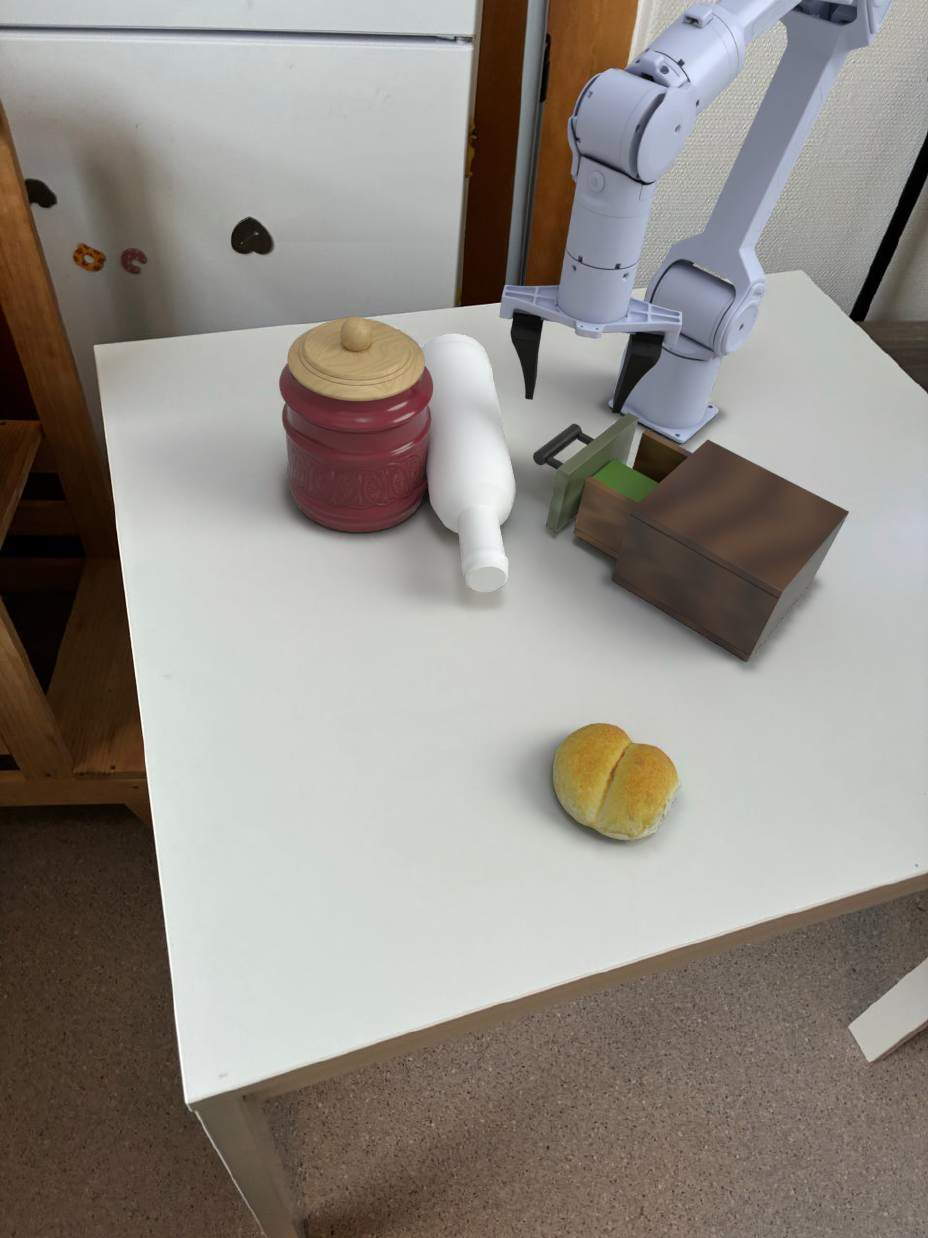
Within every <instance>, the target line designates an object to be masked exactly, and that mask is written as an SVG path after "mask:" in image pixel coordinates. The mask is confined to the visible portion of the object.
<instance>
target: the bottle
mask: <svg viewBox="0 0 928 1238" xmlns="http://www.w3.org/2000/svg"><path fill="white" fill-rule="evenodd" d="M421 349H422V351H423V354H424V357H425V366H426V367H427V369H428V370H429V372H430V374H431V376H432V379H433V384H434V389H433V395H432V398H431V400H430V402H429V404H428V405H429V408H430V411H431V416H432V422H431V427H430V430H429V436H428V453H427V462H426V471H427V480H428V483H427V488H428V495H429V501H430V506H431V507H432V509H433V511H434V512H435V514H436V515H437V517H438V518H439V520H440V521H441V522H442V524H443V525H444V527H445V528H447V529H449V530H450V531H452V532H453V533H455V534H458V535H457V536H458V540H459V541H458V542H459V548H460V554H461V560H462V562H461V565H460V566H461V567H460V568H461V573H462V575H463V577H464V583H465V585H466V586H467V587H468V588H469V589H471V590H473V591H475V592H479V593H490V592H494V591H497V590H498V589H500V588H502V587H503V586H504V585H505V584H506V583H507V582H508V579H509V568H510V567H509V559H508V556H506V553H505V547H504V542H503V537H502V531H501V526H502V525H503V524H504V523H505V522H506V521H507V520H508V518H509V516H510V514H511V511H512V509H513V506H514V503H515V499H516V494H517V492H516V489H517V488H516V480H515V474H514V470H513V465H512V460H511V457H510V456H511V455H510V451H509V447H508V442H507V438H506V433H505V429H504V423H503V420H502V414H501V410H500V405H499V399H498V395H497V391H496V387H495V382H494V376H493V375H494V374H493V367H492V364H491V362H490V360H489V359H490V358H489V356H488V354H487V351H486V350H485V348H484V346H483V345H482V344H481V343H480V342H479V341H477V340H476V339H475V338H473V337H471V336H468V335H465V334H463V333H446V334H443V335H438V336H435V337H433V338H432V339H431V340H429V341H428V342H426V343H425V344H424V345H423V346H422V347H421Z"/></svg>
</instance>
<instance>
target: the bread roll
mask: <svg viewBox="0 0 928 1238" xmlns="http://www.w3.org/2000/svg"><path fill="white" fill-rule="evenodd" d="M552 783H553V784H552V785H553V788H554V791H555V794H556V797H557V799H558V802H559V803H560V804H561V806H562V808H563V809H564V811H565V812H566V813H568V815H570V816H571V817H572V818H573V819H574V820H575V821H576V822H577V823H579V824H582V825H583V826H586V827H589V828H592V829H594V830H595V831H597V832H598V833H600V834H602V835H603V836H604V837H609V838H611V839H615V840H620V841H632V842H634V841H638V840H642V839H644V838H647V837H649V836H651V835H654V834H655V833H656V832H657V830H658V829H659V828H660V826H661V825H662V823H663V822H664V820H665V819H666V818H667V814H668V812H669V811H670V810H671V808H672V807H673V806H672V805H673V801H674V800H675V799H676V798H677V796H678V792H679V791H680V789H681V786H682V784H681V782H680V780H679V776H678V771H677V768H676V766H675V764H674V762H673V761H672V760H671V758H670V757H669V755H668V754H666V752H665V751H664V750H662V749H661V748H659V747H658V746H655V745H652V744H648V743H637V742H633V740H631V738H630V736H629V735H628V734H627V732H626V731H625V730H624V729H622V728H621V727H618V725H614V724H610V723H605V722H604V723H603V722H602V723H601V722H596V723H589V724H587V725H585V726H582V727H579V728H578V729H576V730H575V731H572V732H571V733H569V734H568V735H567V736H565V738H564V739H563V740H562V741H561V743H560V744H559V745H558V747H557V749H556V750H555V753H554V757H553V763H552Z"/></svg>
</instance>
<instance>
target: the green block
mask: <svg viewBox="0 0 928 1238" xmlns="http://www.w3.org/2000/svg"><path fill="white" fill-rule="evenodd" d="M632 468H633V467H630V466H628V465H627V464H626V465H624V464H623V463H621V462H619V461H617V460H615V459H613V460H612V461H611V462H609V463H608V464H607V465H606V466H605V467H603V468H602V469H601V470H600V471H599V472H597V473H596V474H595V475H594V476H593V478H595V479H596V480H598V481H600V482H602V483H604V484H605V485H607V486H609V487H611V488H612V489H614V490H616V491H618V492H620V493H621V494H623V495H625V496H627V497H629V498H630V499H632V500H634V501H636V502H637V503H638V502H639V501H640V500H641V499H642V498H643V497H645V496H646V495H647V494H648V493H649V492H650V491H651V490H652V489H653V488H654V487H656V486H657V485H658V484H659V483H657V482H656V481H654V480H652V479H650V478H648V477H646V476H645V475H643V474H641V473H639V472H637V471H635V470H634V469H632Z"/></svg>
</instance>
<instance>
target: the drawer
mask: <svg viewBox="0 0 928 1238" xmlns="http://www.w3.org/2000/svg"><path fill="white" fill-rule="evenodd" d="M638 419H639V418H638V417H636V416H634V415H632V414H631V413H627V414H626V415H625V414H623V416H622V417H620V418H619V419H618V420H617V421H616V422H614V423H613V424H612V425H610V427H608V428H607V429H605V430H604V431H603V432H602V433H600V434H599V435H598V436H597V437H595V438H594V437H591V436H590V435H588V434H586V433H584V432H583V430H582V427H581V426H580V425H579V424H577V423H572V424H570V425H569V426H568V427H566V428H565V429H564V430H563V431H561V432H559V433H558V434H557V435H555V436H554V437H553V438H551V440H549V441H548V442H546V443H545V444H544V445H543V446H541V447H540V448H538V449H537V450H535V452H534V453H533V454H532V459H533V461H534V463H535V464H536V465H538V466H540V467H541V466H542V467H543V466H545V465H547V466H549V467H550V468H552V469H554V470H556V474H555V478H554V483H553V488H552V494H551V500H550V503H549V509H548V513H547V519H546V524H545V527H546V528H548V529H550V530H551V531H553V532H555V533H557V532H559V531H560V530H561V529H562V528H563V527H564V526H565V525H567V523H570V521H571V520H573V519H574V518H575V517H576V519H575V524H574V528H573V531H572V532H573V533H572V534H574V535H575V536H577V537H579V538H580V539H582V540H583V541H585V542H587V543H589V544H591V545H592V546H593V547H595V548H597V549H598V550H600V551H601V552H604V553H605V554H607V555H609V556H610V557H612V558H614V559H616V560H617V558H618V555H619V552H620V548H621V545H622V541H623V538H624V534H625V531H626V528H627V524H628V521H629V517H630V514H631V511H632V507H633V506H635V505H636V504H637V502H636V501H634V500H632V499H630V498H629V497H627V496H625V495H623V494H621V493H620V492H618V491H616V490H614V489H612V488H611V487H609V486H607V485H605V484H604V483H602V482H600V481H598V480H596V479H595V478H593V476H594V475H595V474H596V473H597V472H599V471H600V470H601V469H602V468H603V467H605V466H606V465H607V464H608V463H609V462H611V461H612V460H613V459H615V460H617V461H619V462H621V463H623V464H624V465H626V466H627V463H628V459H629V455H630V453H631V448H632V445H633V440H634V437H635V434H636V430H637V426H638V423H639V422H638ZM576 440H577V441H579V442H580V443H583V444H584V445H585V446H584V447H583V448H582V449H580V450H579V451H577V452H576V453H575V454H574V455H572V457H570V458H569V459H568V460H567V461H565V462H564V463H563V461H560V460H558V459H557V458H555V457H556V456H557V455H559V454H560V453H561V452H562V451H564V450H565V449H566V448H568V447H569V446H570V445H572V444H573V443H575V442H576ZM692 453H693V452H691V451H689V450H688V449H686V448H683V447H682V446H680V445H679V444H676V443H675V442H672V441H670V440H668V439H667V438H664V437H662V436H661V435H658V434H657V433H655V432H653V431H651V430H648V429H647V428H646V429H645V430H644V431H643V432H642V433H641V436H640V439H639V444H638V447H637V451H636V454H635V458H634V460H633V461H634V462H633V464H632V467H631V468H632V469H634V470H635V471H637V472H639V473H641V474H643V475H645V476H646V477H648V478H650V479H652V480H654V481H656V482H657V483H660V482H661V481H662V480H663V479H664V478H666V477H667V476H668V475H669V474H670V473H671V472H672V471H673V470H674V469H676V468H677V467H678V466H679V465H680V464H681V463H682V462H683V461H684V460H685V459H687V458H688V457H689V456H690V455H691V454H692Z"/></svg>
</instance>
